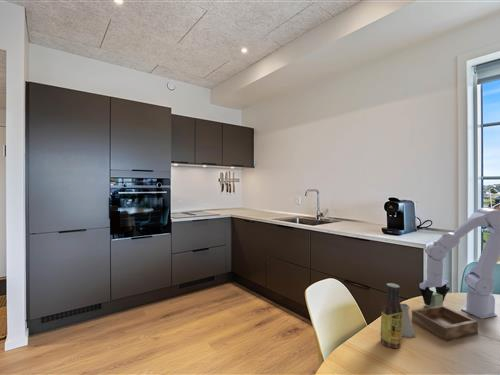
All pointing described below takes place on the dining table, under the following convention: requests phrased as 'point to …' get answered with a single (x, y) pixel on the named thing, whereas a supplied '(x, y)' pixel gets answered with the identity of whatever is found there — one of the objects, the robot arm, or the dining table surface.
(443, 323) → the walnut crate
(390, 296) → the sauce bottle
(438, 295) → the green block
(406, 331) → the flask
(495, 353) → the dining table surface
